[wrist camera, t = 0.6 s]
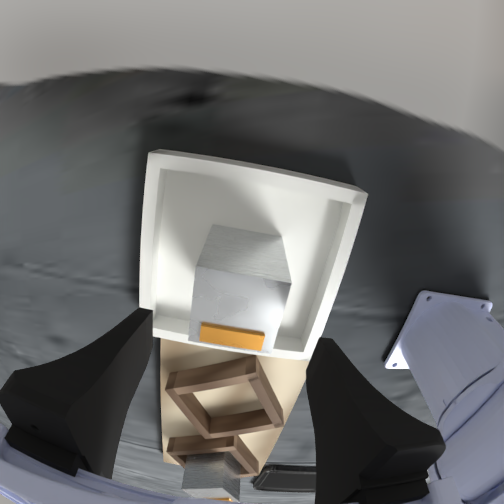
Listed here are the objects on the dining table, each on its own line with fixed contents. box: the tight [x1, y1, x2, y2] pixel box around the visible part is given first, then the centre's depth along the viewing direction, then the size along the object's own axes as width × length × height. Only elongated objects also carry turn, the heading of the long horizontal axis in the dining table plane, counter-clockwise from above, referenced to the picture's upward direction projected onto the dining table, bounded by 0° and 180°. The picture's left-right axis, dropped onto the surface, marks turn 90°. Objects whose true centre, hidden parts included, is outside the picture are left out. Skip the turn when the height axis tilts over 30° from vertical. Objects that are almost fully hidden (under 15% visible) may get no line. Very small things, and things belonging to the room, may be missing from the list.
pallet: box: [160, 338, 309, 478], centre depth 27 cm, size 12×22×3 cm, turn 169°
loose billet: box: [188, 224, 292, 354], centre depth 18 cm, size 4×4×6 cm
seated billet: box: [182, 451, 241, 502], centre depth 26 cm, size 4×4×6 cm
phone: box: [253, 465, 316, 492], centre depth 34 cm, size 8×1×15 cm
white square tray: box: [139, 149, 368, 361], centre depth 20 cm, size 13×13×2 cm
